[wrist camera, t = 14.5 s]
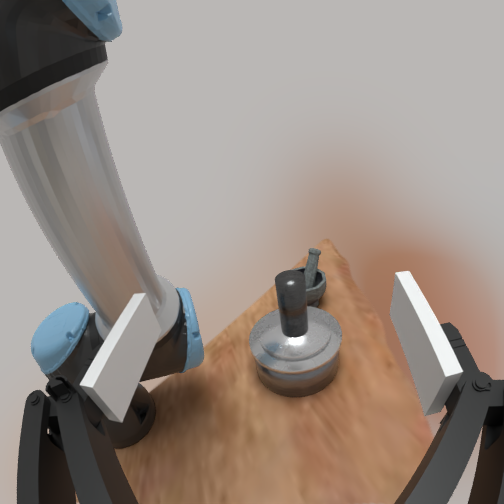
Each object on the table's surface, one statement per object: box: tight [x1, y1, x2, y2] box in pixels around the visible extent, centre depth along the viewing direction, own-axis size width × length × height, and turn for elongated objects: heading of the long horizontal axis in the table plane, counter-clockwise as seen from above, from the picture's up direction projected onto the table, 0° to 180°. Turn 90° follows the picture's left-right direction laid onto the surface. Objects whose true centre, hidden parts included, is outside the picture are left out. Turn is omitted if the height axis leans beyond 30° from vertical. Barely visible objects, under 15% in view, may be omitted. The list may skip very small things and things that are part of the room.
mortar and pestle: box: [292, 248, 326, 307], centre depth 65 cm, size 11×9×12 cm
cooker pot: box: [249, 306, 342, 397], centre depth 50 cm, size 16×16×8 cm
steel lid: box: [259, 270, 331, 362], centre depth 45 cm, size 12×12×12 cm
